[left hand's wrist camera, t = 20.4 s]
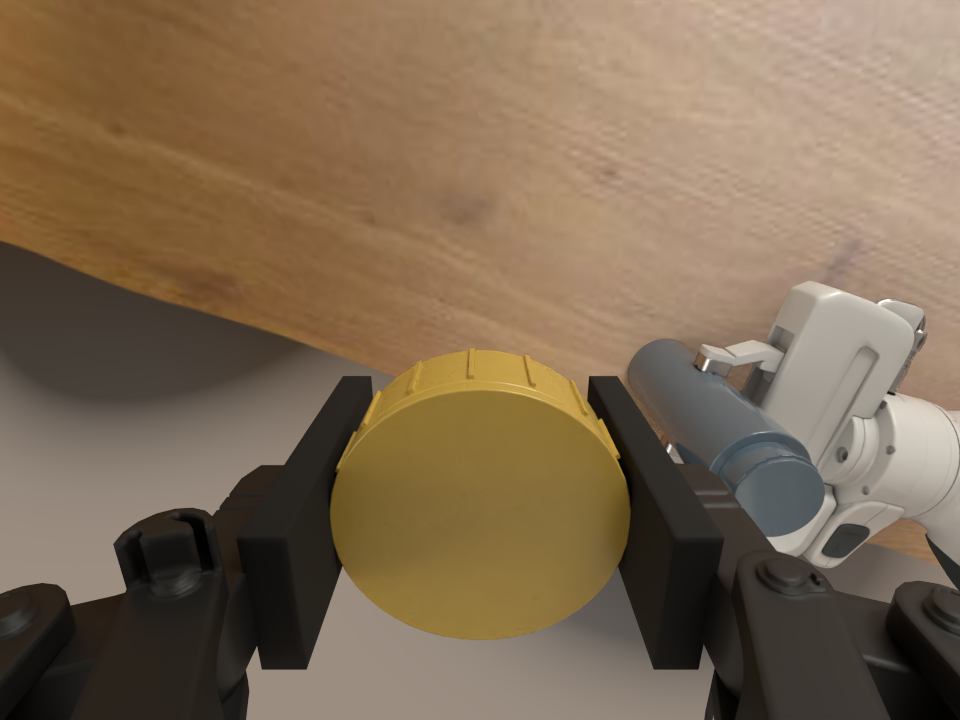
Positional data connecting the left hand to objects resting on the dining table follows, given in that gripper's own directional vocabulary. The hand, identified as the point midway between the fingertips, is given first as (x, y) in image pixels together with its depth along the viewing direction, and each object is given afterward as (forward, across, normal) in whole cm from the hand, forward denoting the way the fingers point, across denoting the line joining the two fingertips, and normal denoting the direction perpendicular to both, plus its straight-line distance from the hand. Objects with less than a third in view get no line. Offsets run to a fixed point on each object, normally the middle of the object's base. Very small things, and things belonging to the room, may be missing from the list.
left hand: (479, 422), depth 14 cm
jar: (+26, +15, -9) cm, 31 cm away
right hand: (+20, +14, -9) cm, 26 cm away
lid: (-4, 0, 0) cm, 4 cm away
